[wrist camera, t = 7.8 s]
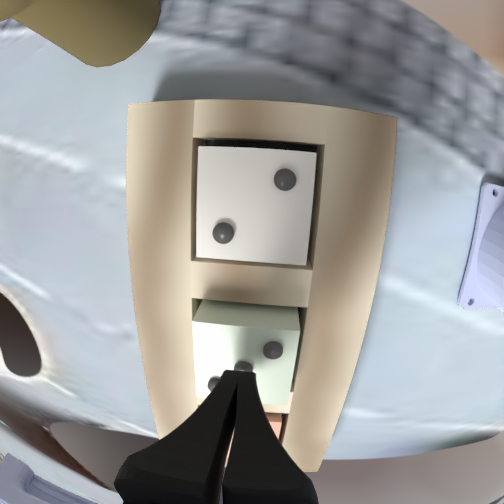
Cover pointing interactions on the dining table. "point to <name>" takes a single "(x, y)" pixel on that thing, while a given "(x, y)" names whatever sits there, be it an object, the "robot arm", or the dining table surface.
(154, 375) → the wooden puzzle board
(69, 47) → the cork
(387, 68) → the dining table surface
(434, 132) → the dining table surface
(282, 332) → the three dot key
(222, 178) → the two dot key
